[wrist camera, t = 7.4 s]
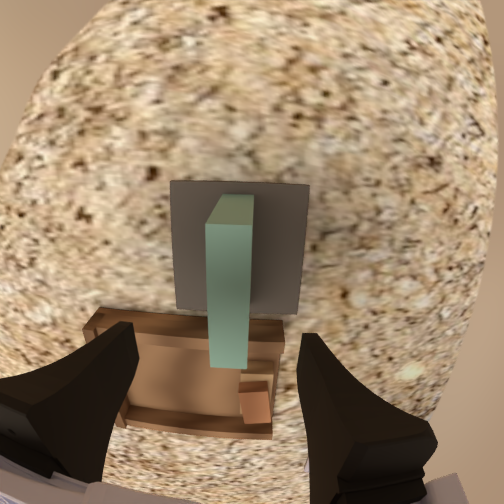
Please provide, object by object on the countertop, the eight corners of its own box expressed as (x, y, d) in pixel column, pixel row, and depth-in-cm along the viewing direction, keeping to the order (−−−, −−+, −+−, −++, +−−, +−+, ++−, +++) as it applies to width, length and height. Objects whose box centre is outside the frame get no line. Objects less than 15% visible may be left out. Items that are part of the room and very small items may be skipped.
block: (253, 194, 20) (252, 225, 13) (249, 304, 23) (247, 369, 16) (222, 193, 20) (205, 223, 13) (222, 303, 23) (210, 367, 16)
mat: (308, 185, 20) (309, 185, 20) (296, 312, 23) (296, 314, 23) (171, 180, 20) (169, 181, 20) (177, 306, 23) (176, 308, 23)
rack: (282, 320, 24) (285, 346, 20) (271, 417, 28) (271, 443, 25) (99, 307, 24) (82, 329, 21) (125, 403, 28) (116, 426, 25)
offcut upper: (267, 380, 23) (267, 391, 22) (270, 412, 24) (271, 422, 23) (238, 382, 23) (238, 393, 22) (245, 413, 24) (244, 423, 23)
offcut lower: (272, 361, 24) (273, 374, 23) (268, 401, 26) (269, 414, 24) (241, 360, 24) (240, 373, 23) (240, 400, 26) (239, 413, 24)
